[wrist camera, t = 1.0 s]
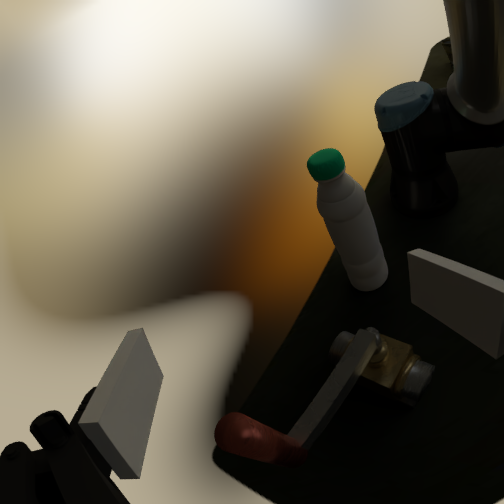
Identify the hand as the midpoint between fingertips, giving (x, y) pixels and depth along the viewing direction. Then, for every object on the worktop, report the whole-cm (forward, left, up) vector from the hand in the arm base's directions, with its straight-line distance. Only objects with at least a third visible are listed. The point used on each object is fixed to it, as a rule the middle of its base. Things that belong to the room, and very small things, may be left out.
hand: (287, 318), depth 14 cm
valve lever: (0, -4, -22) cm, 23 cm away
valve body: (-8, -4, -33) cm, 34 cm away
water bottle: (-23, -15, -33) cm, 43 cm away
